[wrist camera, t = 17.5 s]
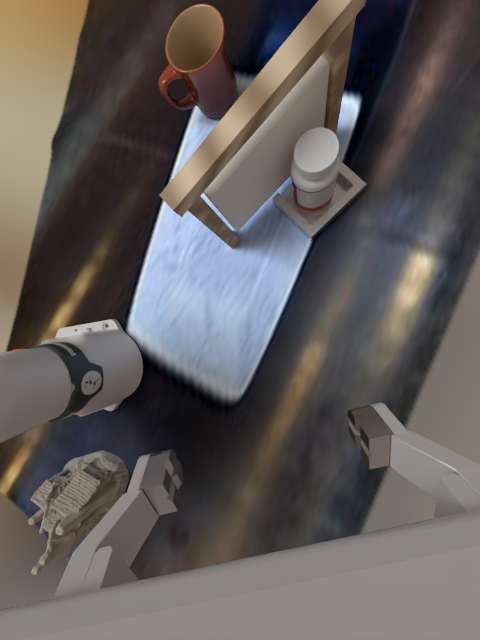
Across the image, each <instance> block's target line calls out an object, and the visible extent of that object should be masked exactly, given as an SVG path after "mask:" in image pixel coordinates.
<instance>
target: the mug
mask: <svg viewBox="0 0 480 640" xmlns="http://www.w3.org/2000/svg"><path fill="white" fill-rule="evenodd" d="M165 51H166V56H167V59H168V61H169V63H170V64H169V66H168V67H167V68H166V69H165V71H164V72H163V73H162V74H161V76H160V78H159V89H160V92H161V94H162V95H163V97H164V99H165V100H166V101H167V102H168V104H170V105H171V106H172V107H173V108H175V109H178V110H185V109H190V108H193V107H195V106H196V105H197V106H198V107H199V109H200V110H201V111H202V113H203V114H204V115H205V116H206V117H208V118H212V119H218V118H222V117H224V116H225V114H226V113H227V112H228V111H229V109H230V108H231V107H232V106H233V105H234V103H235V102H236V100H237V84H236V78H235V75H234V72H233V69H232V66H231V63H230V60H229V57H228V54H227V51H226V46H225V26H224V21H223V18H222V16H221V14H220V12H219V11H218V10H217V9H216V8H215V7H213V6H211V5H208V4H197V5H193V6H191V7H189V8H187V9H186V10H184V11H183V12H182V13H181V14H180V15H179V16H178V17H177V18H176V19H175V21H174V22H173V24H172V25H171V27H170V29H169V32H168V35H167V39H166V48H165ZM175 79H184V80H185V82H186V84H187V86H188V88H189V93H188V95H187V96H186V97H185V98H184V99H182V100H175V99H173V98H172V97H171V96H170V95H169V94H168V93H167V91H166V88H167V85H168V84H169V83H170V82H171V81H172V80H175Z"/></svg>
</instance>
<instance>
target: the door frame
mask: <svg viewBox="0 0 480 640" xmlns="http://www.w3.org/2000/svg"><path fill="white" fill-rule="evenodd" d="M365 2H366V0H319V1H318V2H317V3H316V4H315V5H314V7H313V8H312V9H311V10H310V12H309V13H308V14H307V15H306V16H305V18H304V19H303V20H302V21H301V23H300V24H299V25H298V26H297V28H296V29H295V30H294V31H293V32H292V34H291V35H290V36H289V37H288V39H287V40H286V41H285V42H284V43H283V45H282V46H281V47H280V48H279V50H278V51H277V52H276V53H275V54H274V56H273V57H272V58H271V59H270V61H269V62H268V63H267V64H266V65H265V67H264V68H263V69H262V70H261V72H260V73H259V74H258V75H257V76H256V78H255V79H254V80H253V81H252V83H251V84H250V85H249V86H248V87H247V89H246V90H245V91H244V92H243V94H242V95H241V96H240V97H239V98H238V100H237V101H236V102H235V103H234V105H233V106H232V107H231V108H230V109H229V111H228V112H227V113H226V114H225V116H224V117H223V118H222V119H221V120H220V122H219V123H218V124H217V125H216V127H215V128H214V129H213V130H212V131H211V133H210V134H209V135H208V136H207V138H206V139H205V140H204V141H203V142H202V144H201V145H200V146H199V147H198V149H197V150H196V151H195V152H194V153H193V155H192V156H191V157H190V158H189V160H188V161H187V162H186V163H185V164H184V166H183V167H182V168H181V169H180V171H179V172H178V173H177V174H176V175H175V177H174V178H173V179H172V180H171V182H170V183H169V184H168V185H167V186H166V188H165V189H164V190H163V191H162V193H161V194H160V197H161V198H162V199H163V200H164V201H165V202H166V203H167V204H168V205H169V206H170V207H171V209H172V210H173V211H175V212H176V213H177V214H178V215H180V216H181V217H182V216H183V215H184V214H185V213H186V211H187V210H188V211H189V212H191V213H192V214H193V215H194V216H195V217H196V218H197V219H199V220H200V221H201V222H202V223H203V224H204V225H206V226H207V227H208V228H209V229H210V230H211V231H213V232H214V233H215V234H216V235H217V236H218V237H219V238H221V239H222V240H223V241H224V242H225V243H226V244H228V245H229V246H230V247H231V248H232V249H233V248H234V247H235V246H236V245H237V243H238V242H239V241H240V239H239V238H238V237H237V236H236V235H235V234H234V233H233V232H232V230H231V229H230V228H229V227H228V226H227V225H226V224H225V223H224V222H223V221H222V220H221V218H220V217H219V216H218V215H217V214H216V213H215V212H214V211H213V210H212V209H211V207H210V206H209V205H208V204H207V203H206V202H205V201H204V200H203V199H202V198H201V197H200V195H201V194H202V193H203V192H204V191H205V189H206V188H207V187H208V186H209V185H210V184H211V183H212V181H213V180H214V179H215V178H216V177H217V176H218V174H219V173H220V172H221V171H222V170H223V169H224V167H225V166H226V165H227V164H228V163H229V162H230V161H231V159H232V158H233V157H234V156H235V155H236V154H237V152H238V151H239V150H240V149H241V148H242V147H243V145H244V144H245V143H246V142H247V141H248V140H249V139H250V137H251V136H252V135H253V134H254V133H255V132H256V130H257V129H258V128H259V127H260V126H261V125H262V123H263V122H264V121H265V120H266V119H267V118H268V117H269V115H270V114H271V113H272V112H273V111H274V110H275V108H276V107H277V106H278V105H279V104H280V103H281V102H282V100H283V99H284V98H285V97H286V96H287V95H288V93H289V92H290V91H291V90H292V89H293V88H294V86H295V85H296V84H297V83H298V82H299V81H300V80H301V78H302V77H303V76H304V75H305V74H306V73H307V71H308V70H309V69H310V68H311V67H312V66H313V64H314V63H315V62H316V61H317V60H318V59H319V58H320V56H322V57H324V58H325V59H326V60H327V61H329V62H330V69H329V80H328V90H327V101H326V111H325V121H324V128H327V129H329V130H331V131H333V132H334V133H335V134H336V131H337V125H338V119H339V113H340V107H341V101H342V96H343V90H344V84H345V78H346V72H347V66H348V60H349V54H350V48H351V42H352V36H353V30H354V24H355V18H356V15H357V14H358V12H359V11H360V10H361V9H362V8H363V7H364V5H365Z"/></svg>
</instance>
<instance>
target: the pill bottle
mask: <svg viewBox="0 0 480 640" xmlns="http://www.w3.org/2000/svg"><path fill="white" fill-rule="evenodd" d="M339 168H340V156H339V140H338V138H337V136H336V134H335V133H334V132H333V131H331V130H329V129H327V128H320V127H319V128H314V129H311V130H309V131H307V132H306V133H304V134H303V135H302V136H301V137H300V138H299V140H298V141H297V143H296V145H295V148H294V158H293V161H292V164H291V178H292V186H293V196H294V201H295V203H296V205H297V206H298V207H299V208H300V209H301V210H303V211H305V212H309V213H313V212H318V211H320V210H322V209H324V208H325V207H326V206H327V205H328V204H329V203H330V201H331V199H332V197H333V194H334V189H335V185H336V181H337V176H338V172H339Z"/></svg>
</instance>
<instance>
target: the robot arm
mask: <svg viewBox="0 0 480 640" xmlns="http://www.w3.org/2000/svg"><path fill="white" fill-rule="evenodd" d="M142 374H143V361H142V356H141V353H140V351H139V348H138V347H137V345H136V343H135V342H134V341H133V340H132V339H131V338H130V337H129V336H128V335H127V334H126V333H125V332H124V331H123V329H122V327H121V325H120V323H119V322H118V321H117V320H116V319H110V320H104V321H99V322H93V323H88V324H82V325H77V326H71V327H66V328H61V329H59V331H58V332H57V334H56V337H55V338H54V339H46V340H44V341H43V342H42V343H41V344H40V345H38V346H35V347H32V348H31V349H16V350H12V351H10V352H3V353H0V443H1V442H3V441H6V440H8V439H10V438H12V437H14V436H16V435H19V434H21V433H23V432H25V431H27V430H30V429H32V428H34V427H36V426H39V425H41V424H43V423H45V422H54V421H57V420H60V419H64V418H67V417H69V416H71V415H72V414H76V415H79V416H85V415H88V414H90V413H93V412H96V411H98V410H101V409H105V410H108V411H113V410H115V409H117V408H118V406H119V405H120V403H121V402H122V400H123V399H125V398H126V397H128V396H130V395H131V394H132V393H133V392H134V391H135V390H136V389H137V387H138V386H139V384H140V381H141V378H142ZM348 417H349V419H350V422H349V423H348V426H349V431H350V435H351V437H352V439H353V441H354V443H355V445H356V446H357V447H359V448H361V455H362V457H363V459H364V460H365V462H366V464H367V466H368V467H369V469H373V468H379V467H384V466H390V467H391V468H393V469H394V470H395V471H397V472H398V473H400V474H401V475H403V476H404V477H405V478H406V479H408V480H409V481H411V482H412V483H413V484H415V485H416V486H417V487H419V488H420V489H421V490H423V491H424V492H425V493H427V494H428V495H430V496H431V497H432V498H434V499H435V500H436V501H437V504H436V509H435V515H434V518H435V519H431V520H426V521H421V522H416V523H412V524H407V525H402V526H397V527H393V528H388V529H383V530H378V531H373V532H369V533H364V534H359V535H354V536H349V537H345V538H340V539H335V540H330V541H325V542H321V543H316V544H311V545H306V546H301V547H297V548H292V549H287V550H282V551H277V552H273V553H268V554H263V555H258V556H254V557H249V558H244V559H239V560H235V561H230V562H225V563H220V564H215V565H211V566H206V567H201V568H196V569H192V570H187V571H182V572H177V573H173V574H168V575H163V576H158V577H153V578H149V579H144V580H139V581H138V578H137V576H136V575H135V574H134V573H133V572H132V571H131V569H130V568H129V567H130V565H131V563H132V562H133V560H134V558H135V557H136V555H137V553H138V551H139V550H140V548H141V546H142V545H143V543H144V541H145V539H146V538H147V536H148V534H149V533H150V531H151V529H152V528H153V526H154V524H155V522H156V521H157V519H158V517H159V515H163V514H167V513H171V512H175V511H178V505H179V499H180V493H179V491H178V488H179V487H180V485H181V484H182V478H183V475H182V466H181V463H180V461H178V460H176V459H175V458H176V453H175V452H174V450H169V451H164V452H159V453H153V454H149V455H144V456H140V458H139V459H138V461H137V464H136V467H135V470H134V473H133V476H132V479H131V481H130V484H129V487H128V490H127V493H125V494H123V495H122V496H121V497H120V498H119V500H118V501H117V502H116V503H115V504H114V505H113V507H112V508H111V509H110V510H109V511H108V512H107V514H106V515H105V516H104V517H103V518H102V519H101V521H100V522H99V523H98V524H97V525H96V526H95V528H94V529H93V530H92V531H91V532H90V533H89V535H88V536H87V537H86V538H85V539H84V540H83V542H82V543H81V544H80V545H79V546H78V547H77V549H76V550H75V551H74V552H73V554H72V556H71V559H70V561H69V563H68V566H67V568H66V570H65V572H64V575H63V577H62V579H61V582H60V584H59V586H58V588H57V591H56V593H55V595H54V597H53V599H49V600H44V601H39V602H34V603H29V604H24V605H20V606H15V607H10V608H5V609H1V610H0V640H480V464H479V463H477V462H474V461H472V460H470V459H468V458H466V457H464V456H462V455H460V454H458V453H456V452H454V451H452V450H450V449H448V448H446V447H444V446H442V445H439V444H437V443H436V442H433V441H431V440H429V439H427V438H425V437H423V436H421V435H419V434H417V433H415V432H413V431H407V430H406V429H405V427H404V426H403V425H402V424H401V423H400V422H399V420H398V419H397V418H396V417H395V416H394V415H393V414H392V412H391V411H390V410H389V409H388V408H387V407H386V405H385V404H383V403H382V402H381V403H377V404H373V405H368V406H363V407H359V408H355V409H351V410H348Z"/></svg>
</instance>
